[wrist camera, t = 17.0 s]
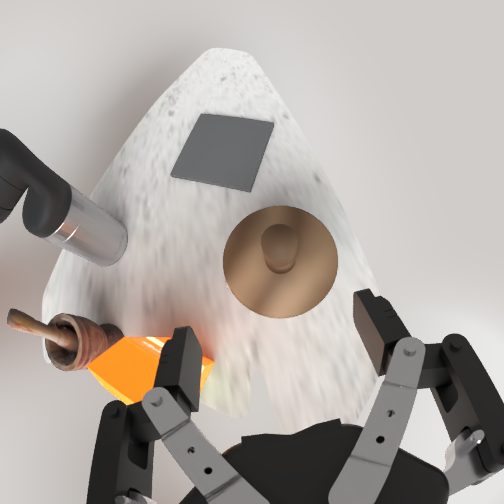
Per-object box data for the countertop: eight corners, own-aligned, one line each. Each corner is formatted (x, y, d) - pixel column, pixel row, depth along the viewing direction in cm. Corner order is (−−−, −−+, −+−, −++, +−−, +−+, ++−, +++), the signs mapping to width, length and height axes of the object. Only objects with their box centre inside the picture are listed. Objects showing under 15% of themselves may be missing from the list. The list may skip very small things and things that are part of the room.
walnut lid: (210, 299, 35) (189, 290, 27) (243, 199, 38) (233, 167, 30) (320, 331, 32) (331, 331, 25) (345, 224, 36) (360, 196, 28)
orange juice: (169, 336, 44) (96, 334, 25) (215, 361, 42) (165, 381, 23) (151, 375, 42) (75, 393, 23) (196, 401, 41) (138, 441, 21)
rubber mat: (172, 176, 52) (170, 174, 51) (202, 116, 56) (201, 113, 55) (250, 192, 49) (249, 189, 48) (273, 125, 53) (273, 122, 52)
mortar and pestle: (80, 359, 44) (2, 359, 25) (81, 316, 47) (3, 301, 28) (127, 369, 43) (48, 381, 24) (129, 322, 45) (49, 310, 26)
